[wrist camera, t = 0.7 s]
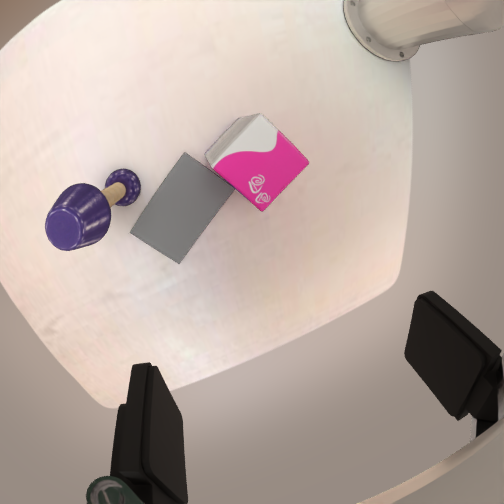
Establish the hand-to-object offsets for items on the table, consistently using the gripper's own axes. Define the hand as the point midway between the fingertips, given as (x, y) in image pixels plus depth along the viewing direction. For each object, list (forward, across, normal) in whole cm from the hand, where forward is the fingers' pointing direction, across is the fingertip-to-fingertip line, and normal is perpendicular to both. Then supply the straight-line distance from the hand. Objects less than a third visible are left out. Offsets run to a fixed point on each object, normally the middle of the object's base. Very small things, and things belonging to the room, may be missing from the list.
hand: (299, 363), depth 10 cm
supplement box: (+27, -2, -4) cm, 28 cm away
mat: (+27, +5, +1) cm, 27 cm away
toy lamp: (+27, +11, -4) cm, 29 cm away
